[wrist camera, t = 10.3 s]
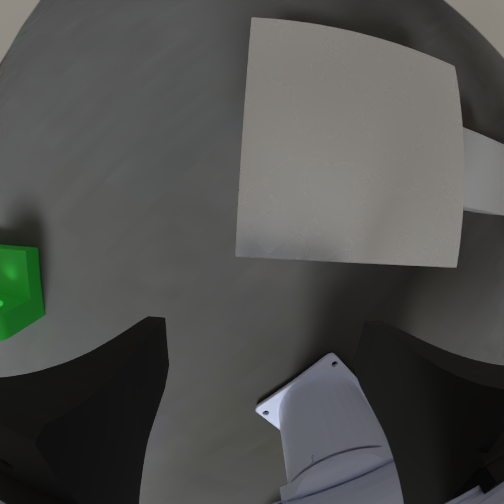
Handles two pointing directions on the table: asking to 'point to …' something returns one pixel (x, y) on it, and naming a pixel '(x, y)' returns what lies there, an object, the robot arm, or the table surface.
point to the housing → (348, 150)
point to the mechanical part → (19, 289)
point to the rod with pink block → (483, 174)
